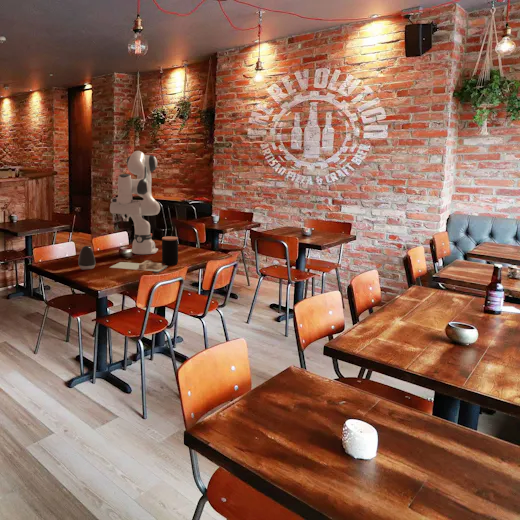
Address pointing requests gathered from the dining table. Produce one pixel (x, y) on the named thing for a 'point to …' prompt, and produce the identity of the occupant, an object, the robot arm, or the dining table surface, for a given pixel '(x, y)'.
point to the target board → (136, 267)
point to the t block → (150, 265)
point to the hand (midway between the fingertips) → (125, 221)
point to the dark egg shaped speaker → (86, 258)
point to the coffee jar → (170, 250)
